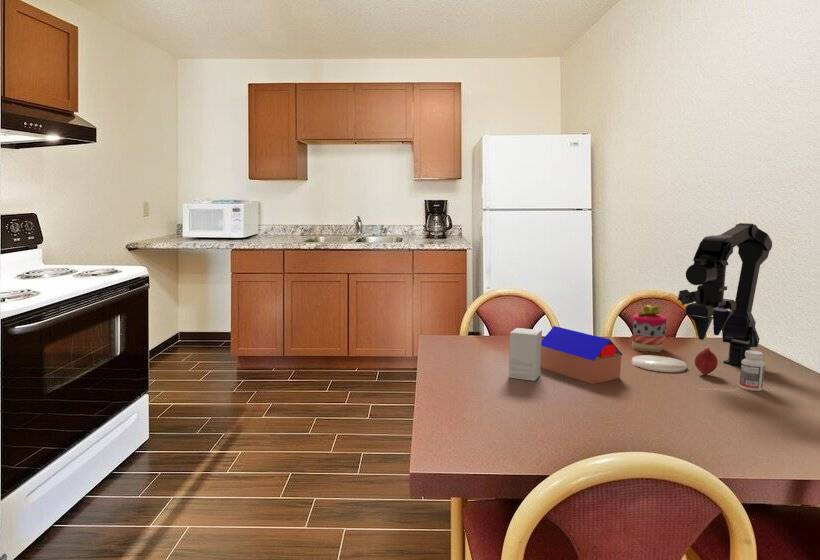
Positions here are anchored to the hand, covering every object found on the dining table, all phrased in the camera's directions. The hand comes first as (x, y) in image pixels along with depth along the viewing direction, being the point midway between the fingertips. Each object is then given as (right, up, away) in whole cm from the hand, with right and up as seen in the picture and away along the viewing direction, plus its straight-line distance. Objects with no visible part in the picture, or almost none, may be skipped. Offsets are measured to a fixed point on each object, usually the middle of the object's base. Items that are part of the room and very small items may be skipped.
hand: (708, 337), depth 171 cm
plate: (-10, -9, +10) cm, 17 cm away
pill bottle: (+6, -13, -11) cm, 18 cm away
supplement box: (-53, -10, -5) cm, 54 cm away
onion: (-1, -11, +1) cm, 11 cm away
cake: (-5, -7, +32) cm, 33 cm away
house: (-37, -10, 0) cm, 38 cm away
